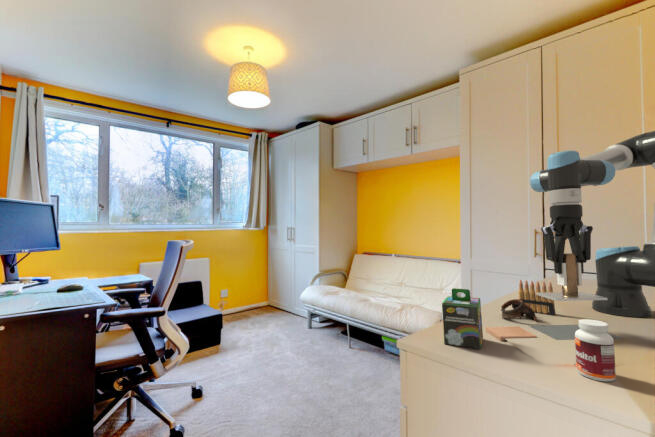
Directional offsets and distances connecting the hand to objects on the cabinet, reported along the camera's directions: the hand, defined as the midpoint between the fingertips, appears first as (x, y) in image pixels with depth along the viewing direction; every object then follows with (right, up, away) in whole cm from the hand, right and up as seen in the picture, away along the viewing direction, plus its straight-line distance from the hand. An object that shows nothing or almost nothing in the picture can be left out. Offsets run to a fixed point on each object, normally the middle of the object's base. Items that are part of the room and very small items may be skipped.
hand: (569, 284), depth 87 cm
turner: (0, -4, 0) cm, 4 cm away
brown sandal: (-6, -15, +13) cm, 21 cm away
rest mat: (0, -14, -1) cm, 14 cm away
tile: (-12, -14, 0) cm, 19 cm away
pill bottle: (-14, -14, -24) cm, 31 cm away
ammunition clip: (+4, -15, +19) cm, 25 cm away
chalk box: (-33, -15, -4) cm, 36 cm away
